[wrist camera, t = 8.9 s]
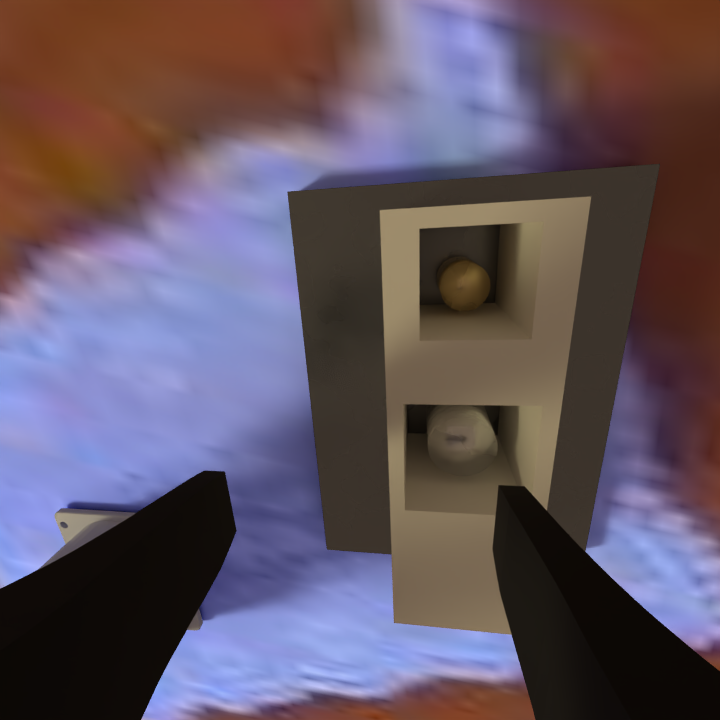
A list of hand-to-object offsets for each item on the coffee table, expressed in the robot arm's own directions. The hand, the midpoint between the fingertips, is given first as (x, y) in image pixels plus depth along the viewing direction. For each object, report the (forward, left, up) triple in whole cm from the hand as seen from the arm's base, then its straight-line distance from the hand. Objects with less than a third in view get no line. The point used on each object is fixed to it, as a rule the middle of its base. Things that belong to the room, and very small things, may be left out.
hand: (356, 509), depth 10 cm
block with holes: (0, -3, -8) cm, 8 cm away
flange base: (-1, -3, -9) cm, 9 cm away
